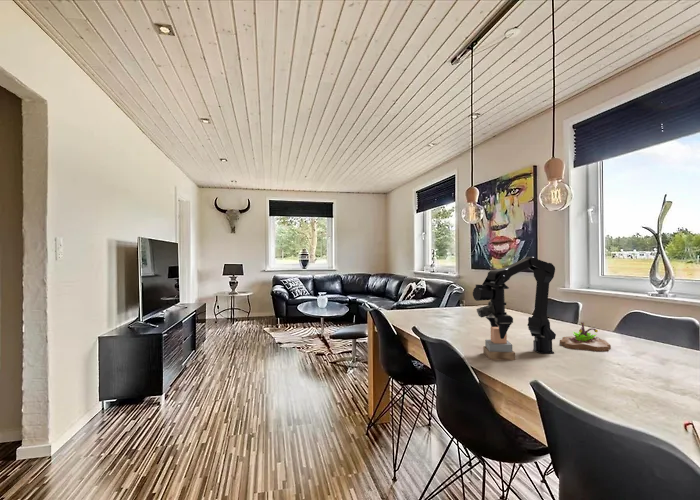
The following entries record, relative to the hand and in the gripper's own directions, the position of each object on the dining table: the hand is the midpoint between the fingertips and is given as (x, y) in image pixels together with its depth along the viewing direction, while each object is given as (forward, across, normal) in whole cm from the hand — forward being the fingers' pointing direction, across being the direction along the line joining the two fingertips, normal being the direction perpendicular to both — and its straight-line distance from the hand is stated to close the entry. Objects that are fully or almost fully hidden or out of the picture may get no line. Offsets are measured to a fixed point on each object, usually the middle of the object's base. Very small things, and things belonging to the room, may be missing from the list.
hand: (498, 336), depth 151 cm
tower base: (+9, 0, 0) cm, 9 cm away
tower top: (+6, 0, 0) cm, 6 cm away
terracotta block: (+2, 0, 0) cm, 3 cm away
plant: (+9, -20, +46) cm, 51 cm away
